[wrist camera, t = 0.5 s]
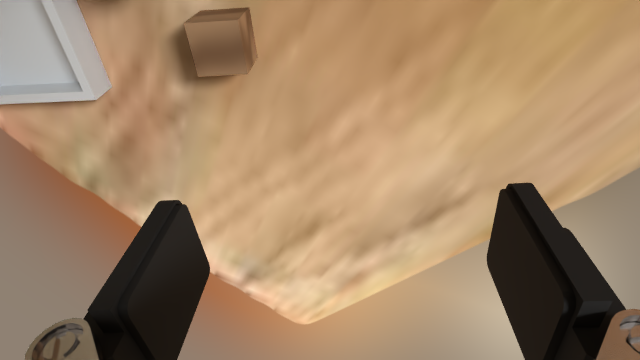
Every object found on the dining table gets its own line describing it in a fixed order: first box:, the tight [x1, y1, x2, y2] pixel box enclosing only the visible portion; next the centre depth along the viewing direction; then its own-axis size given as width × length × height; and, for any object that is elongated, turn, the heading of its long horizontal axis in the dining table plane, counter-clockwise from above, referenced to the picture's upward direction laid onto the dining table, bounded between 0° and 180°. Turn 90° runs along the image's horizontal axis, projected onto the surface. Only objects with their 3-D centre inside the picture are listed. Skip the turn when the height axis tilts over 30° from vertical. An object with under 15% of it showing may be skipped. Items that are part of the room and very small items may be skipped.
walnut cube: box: [184, 8, 258, 77], centre depth 38 cm, size 5×5×5 cm
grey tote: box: [0, 0, 112, 104], centre depth 38 cm, size 18×14×4 cm
